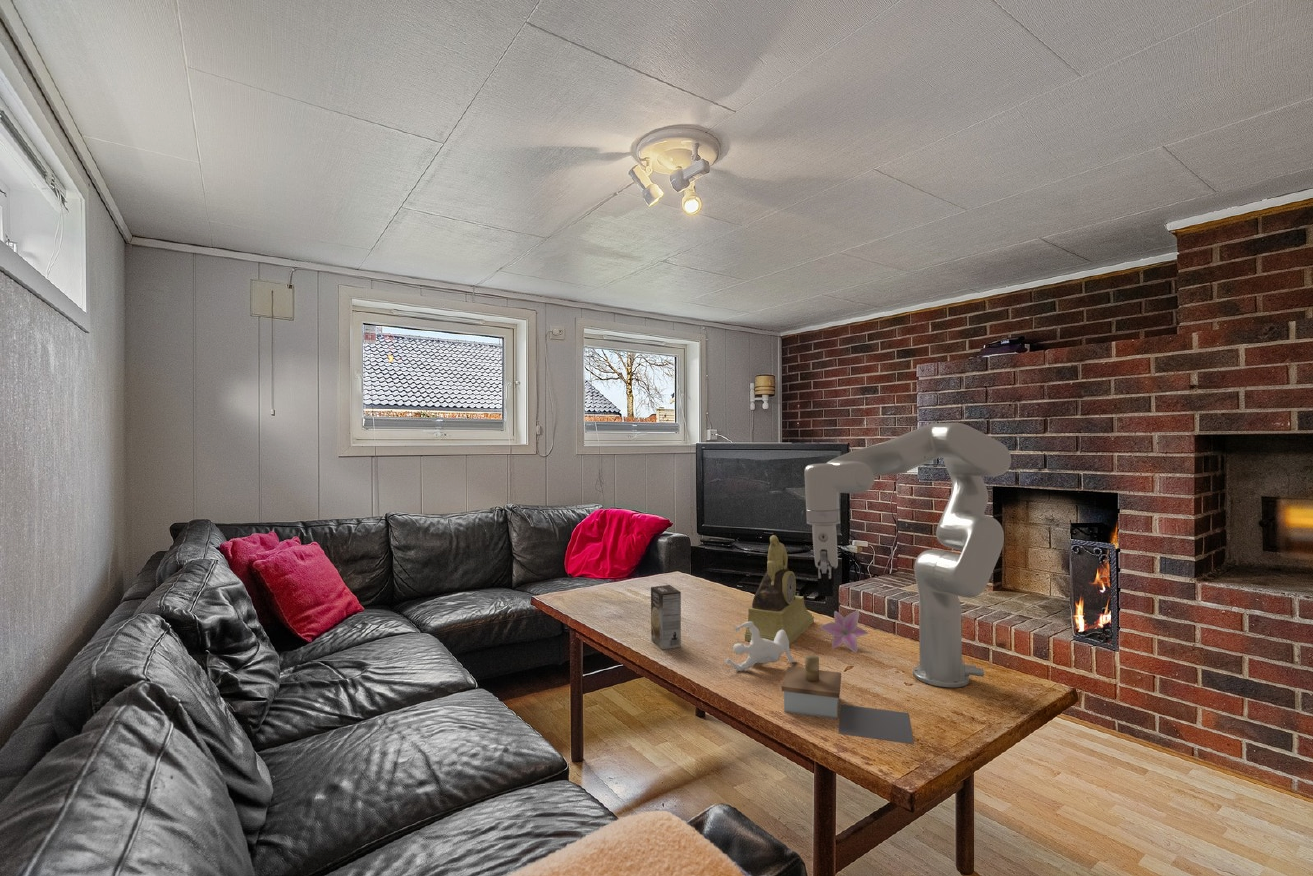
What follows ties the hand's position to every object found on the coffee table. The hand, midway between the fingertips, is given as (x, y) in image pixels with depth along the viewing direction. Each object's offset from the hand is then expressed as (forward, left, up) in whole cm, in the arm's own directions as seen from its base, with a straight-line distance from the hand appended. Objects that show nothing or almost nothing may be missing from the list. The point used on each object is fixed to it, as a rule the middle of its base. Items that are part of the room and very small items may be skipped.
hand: (826, 590), depth 140 cm
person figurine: (+17, -13, -25) cm, 33 cm away
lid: (+3, +7, -19) cm, 21 cm away
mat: (-10, +12, -24) cm, 29 cm away
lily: (-3, -36, -25) cm, 44 cm away
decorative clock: (+16, -45, -25) cm, 54 cm away
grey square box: (+3, +7, -24) cm, 26 cm away
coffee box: (+47, -23, -25) cm, 58 cm away
